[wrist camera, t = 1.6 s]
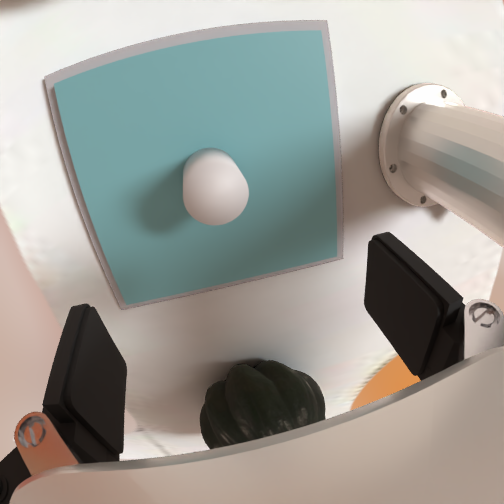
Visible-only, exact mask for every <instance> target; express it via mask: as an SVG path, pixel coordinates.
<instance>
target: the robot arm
mask: <svg viewBox="0 0 504 504" xmlns="http://www.w3.org/2000/svg"><path fill="white" fill-rule="evenodd" d="M379 159H380V166H381V169H382V172H383V176H384V178H385V180H386V182H387V184H388V186H389V187H390V188H391V189H392V191H393V192H394V193H395V194H396V195H397V196H399V197H400V198H401V199H403V200H404V201H406V202H408V203H409V204H411V205H415V206H419V207H428V206H432V205H436V204H438V203H439V204H440V205H442V206H443V207H445V208H446V209H448V210H450V211H451V212H453V213H454V214H456V215H457V216H459V217H460V218H462V219H463V220H465V221H466V222H468V223H469V224H471V225H472V226H474V227H475V228H477V229H478V230H479V231H481V232H482V233H484V234H485V235H487V236H488V237H489V238H491V239H492V240H493V241H495V242H496V243H498V244H499V245H500V246H502V247H503V248H504V116H500V115H497V114H494V113H490V112H487V111H483V110H479V109H475V108H471V107H467V106H465V104H464V103H463V101H462V100H461V99H460V98H459V96H458V95H457V94H455V93H454V92H453V91H452V90H451V89H449V88H447V87H445V86H442V85H438V84H433V83H421V84H417V85H414V86H412V87H410V88H408V89H406V90H405V91H403V92H402V93H401V94H400V95H399V96H398V97H397V98H396V99H395V100H394V102H393V103H392V104H391V106H390V108H389V109H388V111H387V113H386V115H385V118H384V121H383V124H382V127H381V131H380V138H379ZM462 301H463V297H462V296H461V295H460V294H459V293H458V292H457V291H455V290H454V289H453V288H452V287H451V286H450V285H449V284H448V283H447V282H446V281H445V280H444V279H443V278H442V277H441V276H439V275H438V274H437V273H436V272H435V271H434V270H433V269H432V268H431V267H430V266H428V265H427V264H426V263H425V262H424V261H423V260H422V259H421V258H419V257H418V256H417V255H416V254H415V253H414V252H413V251H411V250H410V249H409V248H408V247H407V246H406V245H404V244H403V243H402V242H401V241H400V240H398V239H397V238H396V237H395V236H394V235H393V234H391V233H390V232H385V233H381V234H377V235H374V236H373V237H372V240H371V241H369V243H368V257H367V273H366V285H365V297H364V305H365V308H366V310H367V312H368V313H369V314H370V316H371V317H372V319H373V320H374V321H375V323H376V324H377V325H378V327H379V328H380V329H381V331H382V332H383V334H384V335H385V336H386V338H387V339H388V340H389V342H390V343H391V345H392V346H393V347H394V349H395V350H396V352H397V353H398V354H399V356H400V357H401V359H402V360H403V362H404V363H405V364H406V366H407V367H408V369H409V370H410V372H411V373H412V374H413V375H415V376H416V375H417V376H418V377H419V378H420V380H421V381H420V382H418V383H416V384H413V385H411V386H409V387H407V388H405V389H402V390H400V391H398V392H396V393H393V394H391V395H389V396H387V397H384V398H382V399H379V400H377V401H374V402H372V403H369V404H367V405H364V406H362V407H359V408H357V409H354V410H351V411H349V412H346V413H343V414H340V415H337V416H335V417H332V418H329V419H326V420H323V421H320V422H317V423H314V424H311V425H307V426H304V427H301V428H297V429H294V430H291V431H287V432H284V433H280V434H276V435H273V436H269V437H265V438H261V439H257V440H253V441H249V442H244V443H240V444H235V445H230V446H226V447H221V448H216V449H210V450H205V451H199V452H193V453H187V454H180V455H173V456H165V457H157V458H147V459H138V460H128V461H119V454H121V453H123V448H124V410H125V391H126V376H127V366H126V363H125V361H124V359H123V357H122V355H121V354H120V352H119V350H118V349H117V347H116V345H115V343H114V342H113V340H112V338H111V336H110V335H109V333H108V331H107V329H106V327H105V326H104V324H103V322H102V320H101V318H100V316H99V314H98V312H97V311H96V309H95V308H94V307H90V305H88V304H82V305H77V306H73V307H71V309H70V311H69V314H68V317H67V320H66V323H65V326H64V329H63V332H62V335H61V338H60V342H59V345H58V348H57V351H56V355H55V358H54V362H53V365H52V369H51V373H50V376H49V380H48V384H47V388H46V392H45V396H44V400H43V404H42V405H43V411H42V413H41V412H32V413H29V414H27V415H25V416H24V417H23V418H22V419H21V420H20V421H19V423H18V425H17V426H16V429H15V432H14V439H15V443H16V445H17V447H16V448H15V449H13V450H12V452H10V453H9V454H8V455H7V456H6V457H5V458H4V459H3V460H2V461H1V462H0V504H504V315H503V312H502V311H501V309H500V308H499V307H498V306H496V305H495V304H494V303H492V302H490V301H488V300H484V299H476V300H472V301H470V302H468V303H467V305H466V306H465V305H464V304H463V303H462Z"/></svg>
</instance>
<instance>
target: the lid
mask: <svg viewBox="0 0 504 504" xmlns="http://www.w3.org/2000/svg"><path fill="white" fill-rule="evenodd" d="M54 88H55V93H56V98H57V102H58V107H59V111H60V116H61V120H62V124H63V128H64V132H65V136H66V140H67V144H68V147H69V151H70V154H71V158H72V161H73V165H74V168H75V172H76V175H77V178H78V181H79V184H80V188H81V191H82V194H83V197H84V200H85V203H86V206H87V209H88V212H89V214H90V217H91V220H92V223H93V226H94V228H95V231H96V234H97V236H98V239H99V242H100V244H101V247H102V249H103V252H104V254H105V257H106V259H107V262H108V264H109V267H110V269H111V271H112V274H113V276H114V278H115V281H116V283H117V285H118V288H119V290H120V292H121V294H122V297H123V299H124V301H125V303H126V305H130V304H134V303H139V302H144V301H148V300H153V299H158V298H162V297H167V296H171V295H176V294H180V293H185V292H189V291H194V290H198V289H203V288H207V287H212V286H216V285H220V284H225V283H229V282H233V281H238V280H242V279H246V278H250V277H255V276H259V275H263V274H267V273H272V272H276V271H280V270H284V269H288V268H292V267H297V266H301V265H305V264H309V263H313V262H317V261H321V260H325V259H329V258H333V257H337V207H336V180H335V161H334V145H333V131H332V119H331V108H330V97H329V88H328V79H327V70H326V62H325V54H324V46H323V39H322V32H321V30H306V31H281V32H267V33H255V34H245V35H237V36H229V37H222V38H215V39H209V40H203V41H197V42H192V43H186V44H181V45H177V46H172V47H167V48H163V49H159V50H155V51H151V52H147V53H143V54H139V55H135V56H132V57H128V58H125V59H122V60H118V61H115V62H112V63H109V64H106V65H102V66H99V67H97V68H94V69H91V70H88V71H85V72H82V73H80V74H77V75H74V76H72V77H69V78H67V79H64V80H62V81H59V82H57V83H54Z"/></svg>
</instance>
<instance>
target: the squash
mask: <svg viewBox="0 0 504 504" xmlns="http://www.w3.org/2000/svg"><path fill="white" fill-rule="evenodd" d="M323 420H325V402H324V397H323V394H322V392H321V389H320V387H319V386H318V384H317V383H316V382H315V381H314V380H313V379H312V378H311V377H310V376H309V375H307V374H305V373H303V372H300V371H297V370H293V369H291V368H289V367H287V366H285V365H284V364H281V363H279V362H276V361H273V360H268V361H264V362H262V363H260V364H259V365H258V366H256V368H255V369H254V368H253V367H250V366H248V365H246V364H240V365H236V366H234V367H233V368H232V369H231V371H230V372H229V374H228V376H227V379H226V381H220V382H217V383H215V384H213V385H212V386H211V387H210V388H209V389H208V390H207V393H206V397H205V404H204V405H203V407H202V410H201V414H200V426H201V433H202V436H203V439H204V441H205V443H206V444H207V446H208V447H209V448H210V449H216V448H221V447H226V446H230V445H235V444H240V443H244V442H249V441H253V440H257V439H261V438H265V437H269V436H273V435H276V434H280V433H284V432H287V431H291V430H294V429H297V428H301V427H304V426H307V425H311V424H314V423H317V422H320V421H323Z"/></svg>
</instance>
